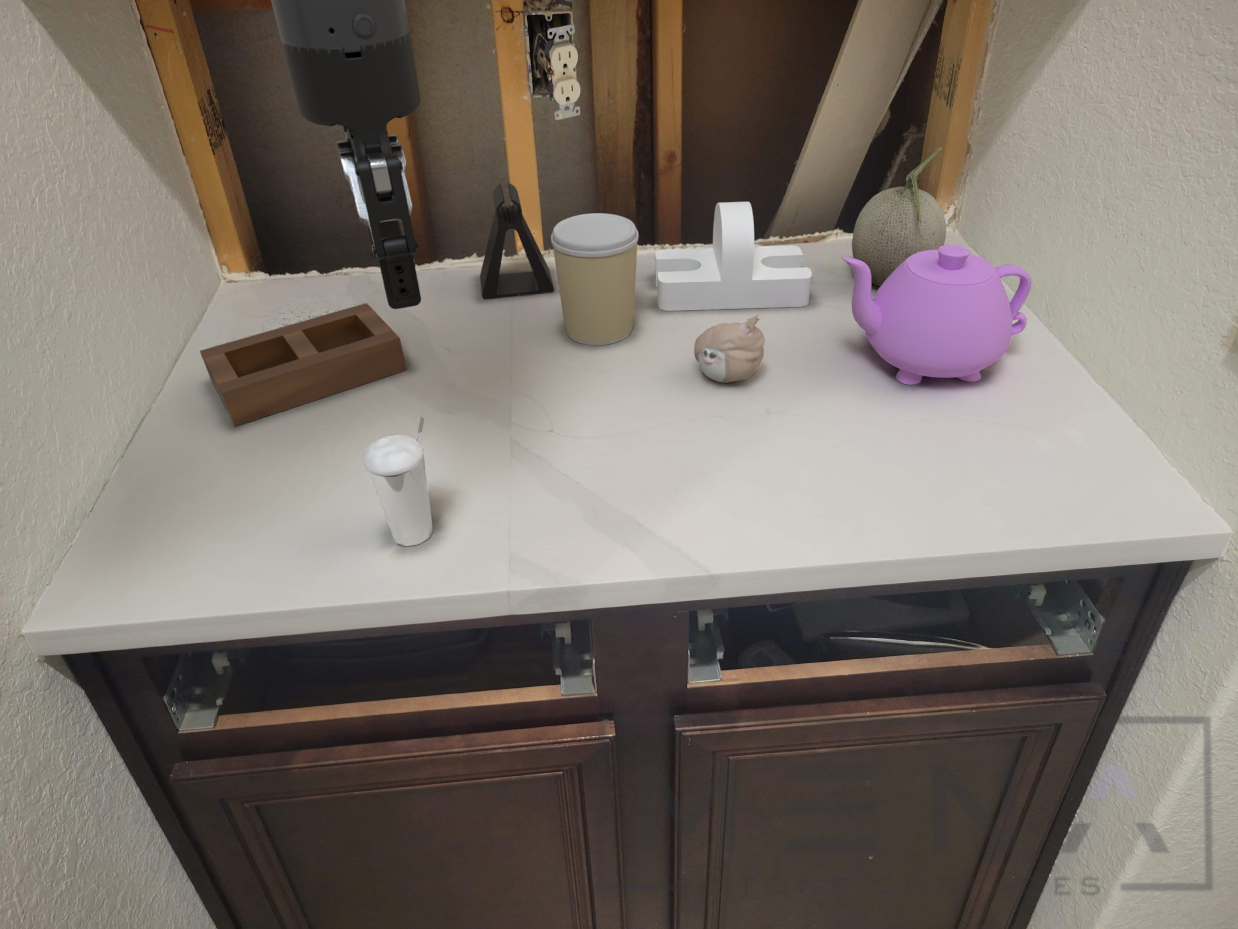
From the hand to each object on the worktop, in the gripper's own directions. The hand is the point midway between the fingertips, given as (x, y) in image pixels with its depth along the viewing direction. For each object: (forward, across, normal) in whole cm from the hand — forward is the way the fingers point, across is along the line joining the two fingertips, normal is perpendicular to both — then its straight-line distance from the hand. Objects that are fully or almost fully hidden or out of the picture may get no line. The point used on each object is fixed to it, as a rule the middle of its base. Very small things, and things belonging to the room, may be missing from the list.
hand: (397, 280), depth 59 cm
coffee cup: (+20, -23, +22) cm, 38 cm away
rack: (+20, -25, -10) cm, 34 cm away
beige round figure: (+20, -8, +31) cm, 38 cm away
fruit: (+20, -20, +59) cm, 66 cm away
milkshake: (+20, +4, -3) cm, 21 cm away
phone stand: (+20, -38, +16) cm, 46 cm away
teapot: (+20, -3, +51) cm, 55 cm away
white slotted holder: (+20, -26, +40) cm, 52 cm away
